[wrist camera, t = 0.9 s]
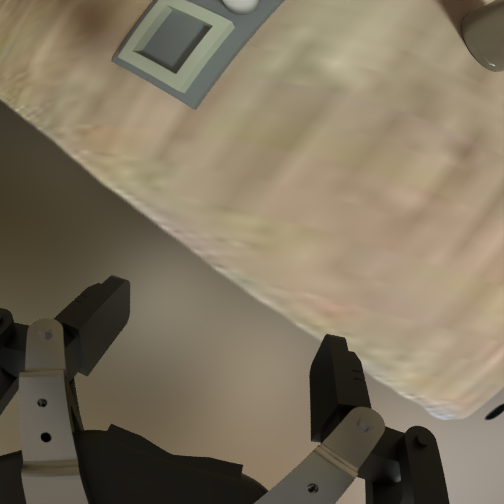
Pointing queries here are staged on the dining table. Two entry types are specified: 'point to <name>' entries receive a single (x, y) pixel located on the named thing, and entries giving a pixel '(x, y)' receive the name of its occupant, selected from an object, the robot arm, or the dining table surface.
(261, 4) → the base board
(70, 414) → the robot arm
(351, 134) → the dining table surface
